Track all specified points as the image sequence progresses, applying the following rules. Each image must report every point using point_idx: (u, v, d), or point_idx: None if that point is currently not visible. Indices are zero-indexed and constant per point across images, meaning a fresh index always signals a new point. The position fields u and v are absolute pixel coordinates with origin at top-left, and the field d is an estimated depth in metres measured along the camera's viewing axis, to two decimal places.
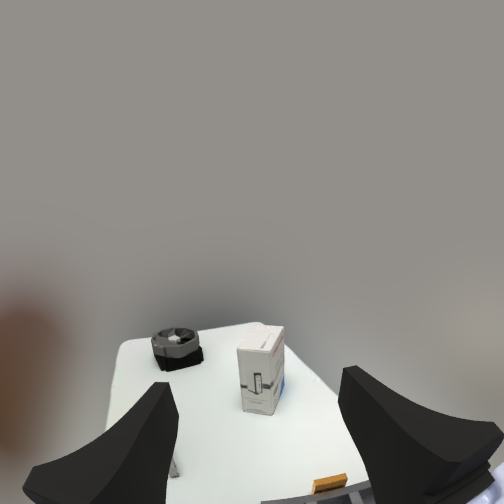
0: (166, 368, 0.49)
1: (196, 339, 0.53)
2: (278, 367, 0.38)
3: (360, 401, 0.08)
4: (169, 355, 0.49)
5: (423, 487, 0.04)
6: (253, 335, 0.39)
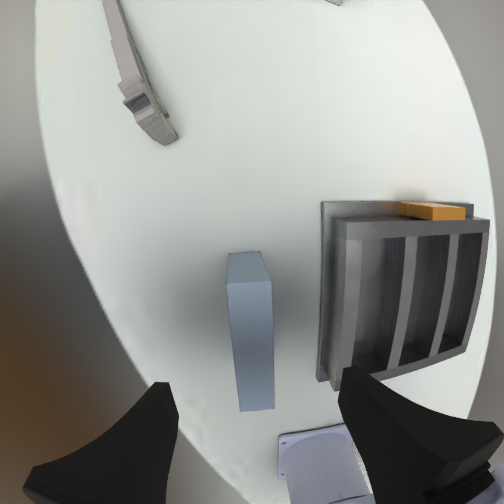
0: None
1: None
2: None
3: (360, 401, 0.08)
4: None
5: (423, 487, 0.04)
6: None
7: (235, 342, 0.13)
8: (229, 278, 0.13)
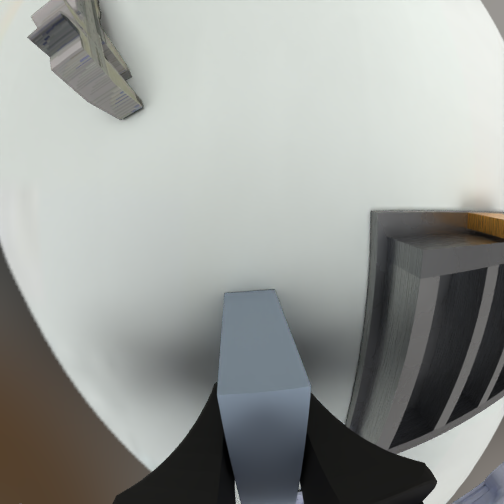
0: None
1: None
2: None
3: None
4: None
5: None
6: None
7: (238, 466, 0.06)
8: (224, 373, 0.06)
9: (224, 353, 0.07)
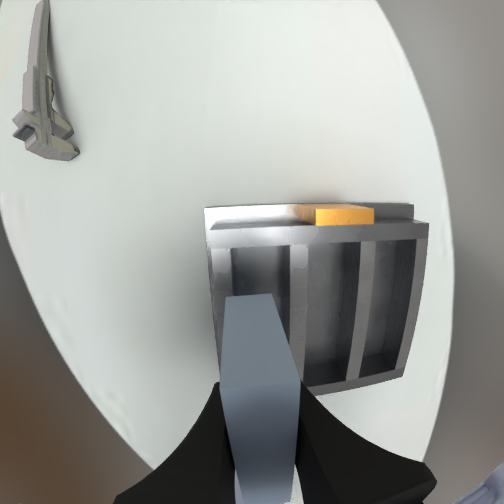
0: None
1: None
2: None
3: None
4: None
5: None
6: None
7: (238, 453, 0.07)
8: (225, 369, 0.07)
9: (225, 352, 0.08)
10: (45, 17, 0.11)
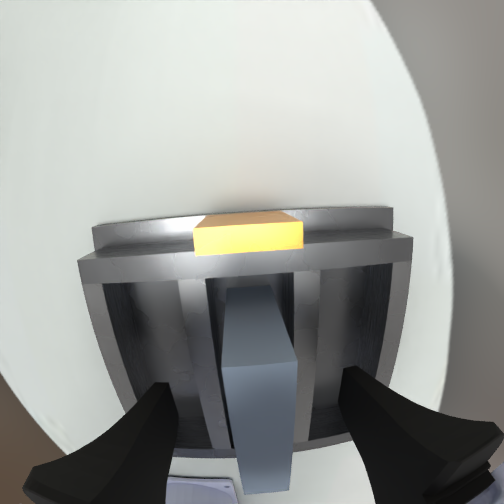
0: None
1: None
2: None
3: (360, 401, 0.08)
4: None
5: (423, 487, 0.04)
6: None
7: (238, 436, 0.07)
8: (227, 351, 0.07)
9: (227, 336, 0.08)
10: None
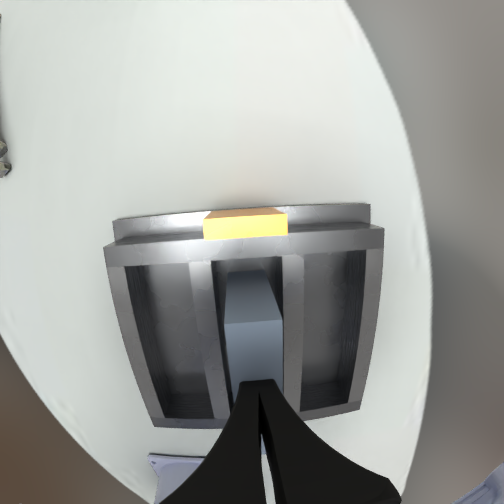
0: None
1: None
2: None
3: (263, 418, 0.08)
4: None
5: None
6: None
7: (236, 390, 0.10)
8: (228, 313, 0.10)
9: (228, 304, 0.11)
10: None
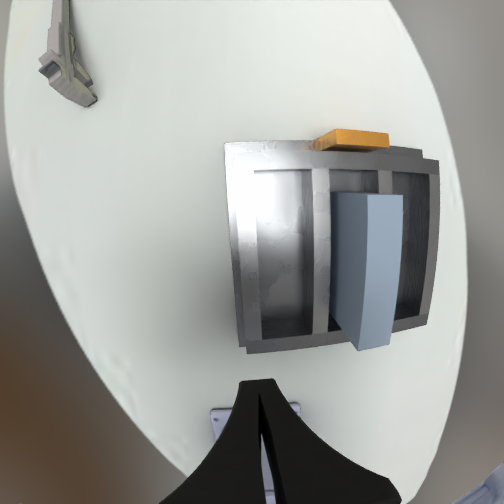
0: None
1: None
2: None
3: (264, 418, 0.08)
4: None
5: None
6: None
7: (369, 261, 0.12)
8: (362, 194, 0.12)
9: (355, 193, 0.13)
10: None
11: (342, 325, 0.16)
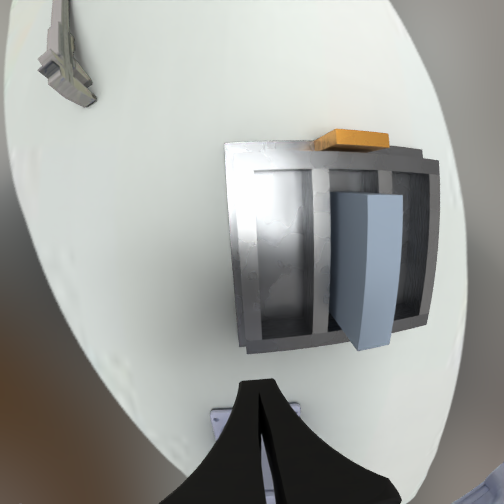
0: None
1: None
2: None
3: (264, 418, 0.08)
4: None
5: None
6: None
7: (369, 261, 0.12)
8: (362, 194, 0.12)
9: (355, 193, 0.13)
10: None
11: (342, 325, 0.16)
